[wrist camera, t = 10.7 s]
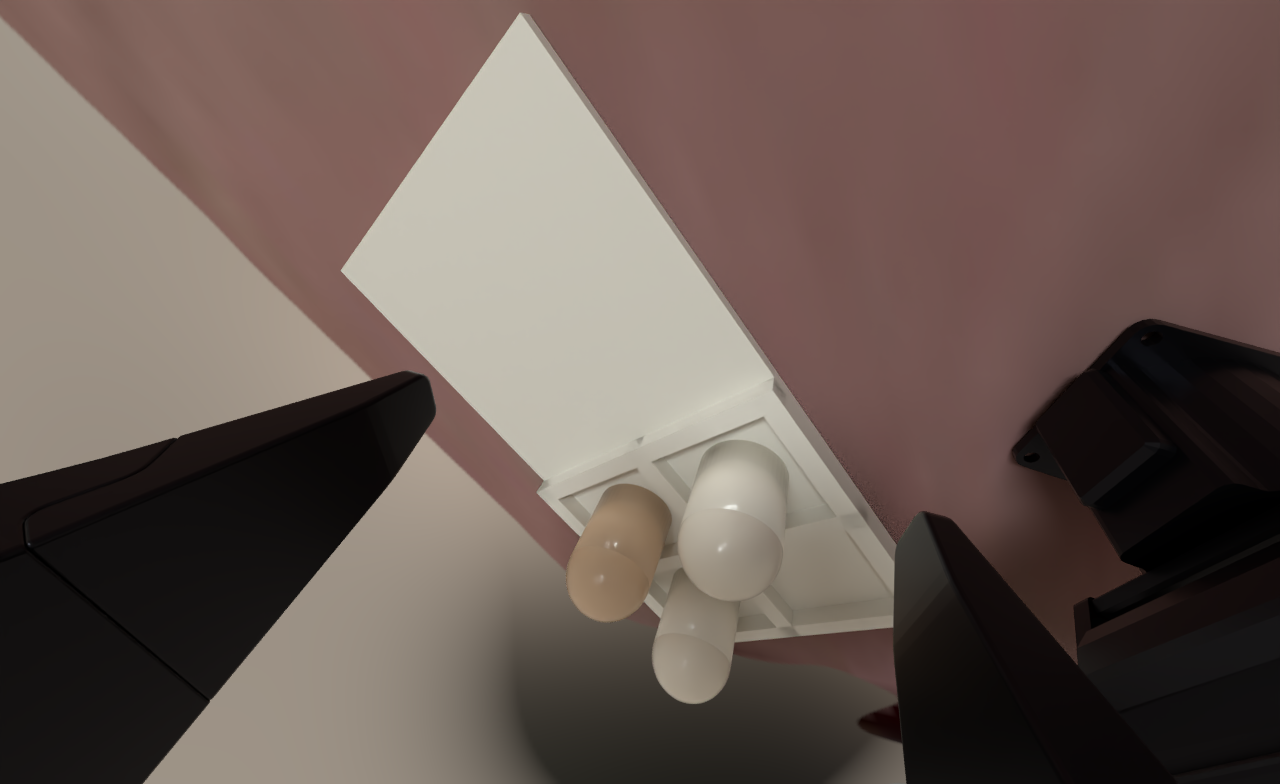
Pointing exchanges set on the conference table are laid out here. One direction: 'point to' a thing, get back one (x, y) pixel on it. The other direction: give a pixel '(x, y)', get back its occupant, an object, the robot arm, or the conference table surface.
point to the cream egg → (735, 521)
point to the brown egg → (618, 553)
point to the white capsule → (694, 642)
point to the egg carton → (604, 335)
